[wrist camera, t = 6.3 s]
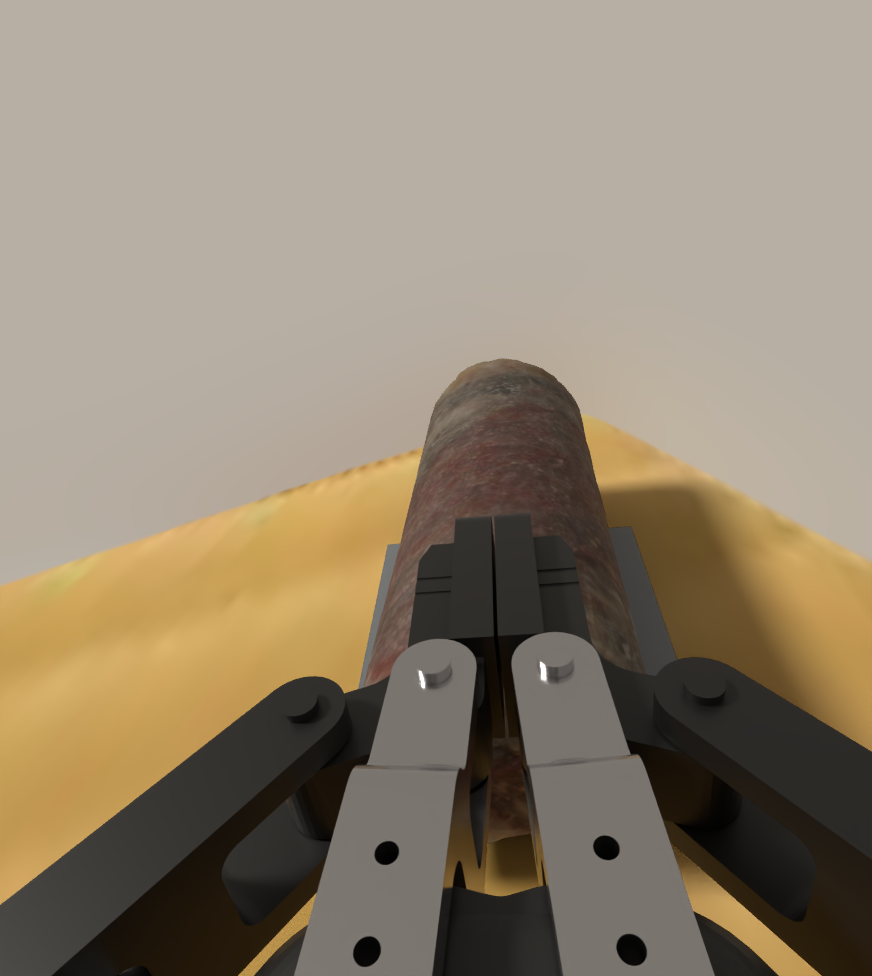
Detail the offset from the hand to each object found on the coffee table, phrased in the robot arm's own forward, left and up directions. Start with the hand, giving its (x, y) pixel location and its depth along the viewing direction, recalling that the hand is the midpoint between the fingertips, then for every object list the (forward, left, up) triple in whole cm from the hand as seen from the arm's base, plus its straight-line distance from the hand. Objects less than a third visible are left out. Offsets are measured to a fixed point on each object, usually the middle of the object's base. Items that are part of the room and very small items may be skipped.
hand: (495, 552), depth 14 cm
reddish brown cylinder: (0, -1, -6) cm, 6 cm away
